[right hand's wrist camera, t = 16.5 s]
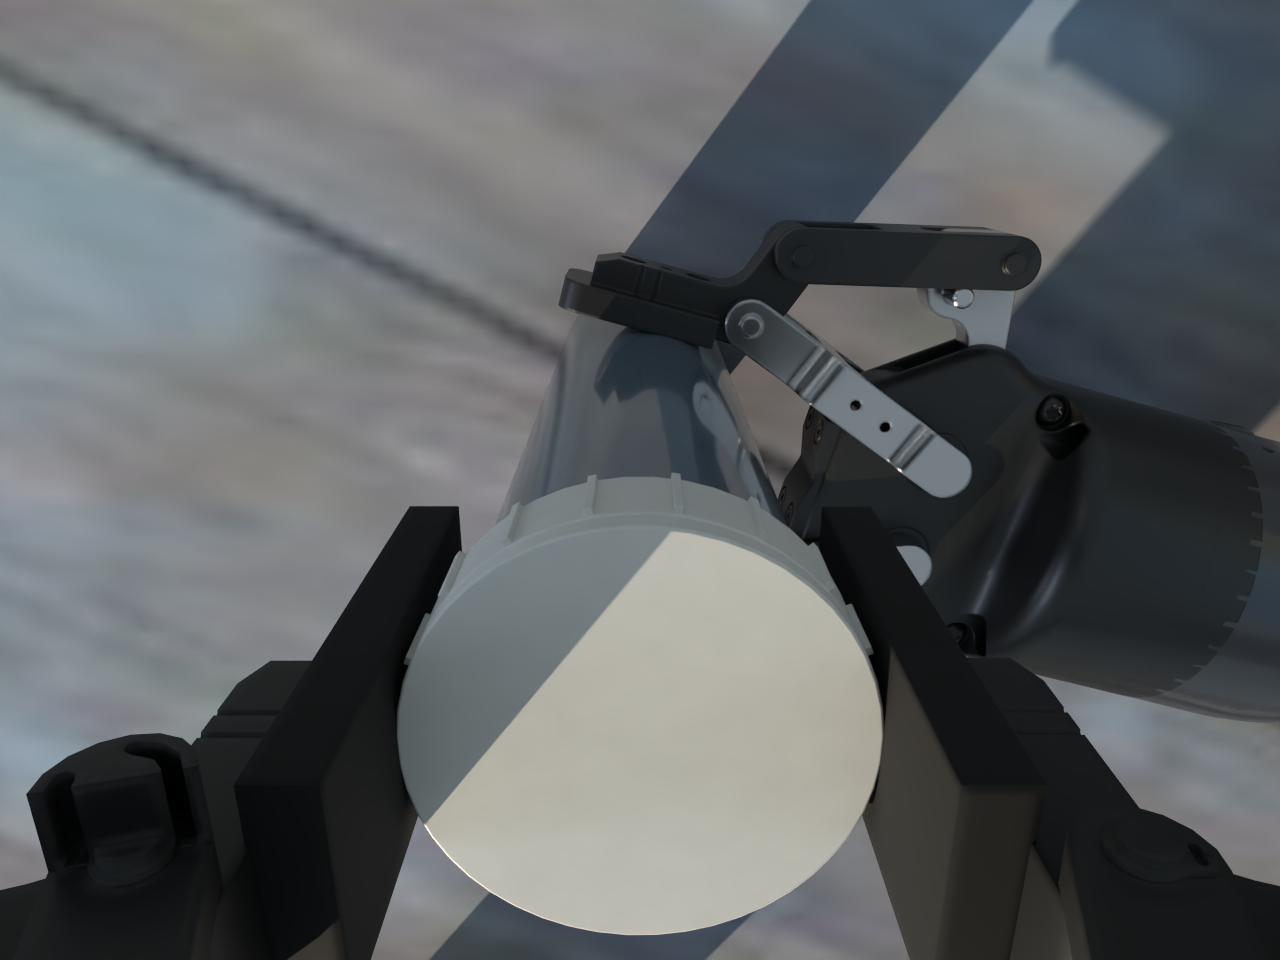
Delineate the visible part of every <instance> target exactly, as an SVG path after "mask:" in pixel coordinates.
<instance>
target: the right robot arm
mask: <svg viewBox="0 0 1280 960" xmlns="http://www.w3.org/2000/svg"><path fill="white" fill-rule="evenodd" d="M459 551H461V552H462V546H461V532H460V519H459V506H410V507H409V509H408V510H407V512H406V513H405V515H404V517H403V518H402V520H401V521H400V523H399V524H398V526H397V528H396V529H395V531H394V532H393V534H392V536H391V537H390V539H389V540H388V542H387V543H386V545H385V547H384V548H383V550H382V551H381V553H380V554H379V556H378V558H377V559H376V561H375V562H374V564H373V566H372V567H371V569H370V570H369V572H368V573H367V575H366V577H365V578H364V580H363V581H362V583H361V584H360V586H359V588H358V589H357V591H356V592H355V594H354V596H353V597H352V599H351V600H350V602H349V603H348V605H347V607H346V608H345V610H344V611H343V613H342V614H341V616H340V618H339V619H338V621H337V622H336V624H335V626H334V627H333V629H332V630H331V632H330V633H329V635H328V637H327V638H326V640H325V641H324V643H323V644H322V646H321V648H320V649H319V651H318V652H317V654H316V655H315V657H314V659H313V660H312V661H270V662H268V663H267V664H265V665H264V666H262V667H261V668H260V669H258V670H257V671H255V672H254V673H252V674H251V675H249V676H248V677H246V678H245V679H243V680H242V681H241V682H239V683H238V684H237V685H236V686H235V688H234V689H233V690H232V692H231V693H230V694H229V696H228V697H227V698H226V700H225V701H224V702H223V704H222V705H221V706H220V708H219V709H218V714H217V716H213V717H212V718H211V720H210V721H209V722H208V724H207V725H206V726H205V728H204V729H203V730H202V732H201V738H197V739H196V740H195V741H194V743H193V744H192V745H190V744H189V743H187V742H186V741H185V740H184V739H183V738H179V737H174V736H170V735H165V734H161V733H156V734H137V735H128V736H124V737H120V738H116V739H112V740H108V741H104V742H100V743H97V744H95V745H93V746H91V747H88V748H86V749H84V750H82V751H79V752H77V753H75V754H73V755H70V756H68V757H67V758H65V759H64V760H62V761H61V762H60V763H58V764H57V765H55V766H54V767H52V768H51V769H50V770H48V771H47V772H45V773H44V774H42V776H41V777H40V778H39V779H38V781H37V782H36V783H35V784H34V786H33V787H32V788H31V789H30V790H29V792H28V793H27V794H26V795H27V799H28V802H29V806H30V809H31V813H32V816H33V819H34V823H35V826H36V830H37V833H38V837H39V840H40V844H41V847H42V851H43V854H44V858H45V861H46V865H47V868H48V874H47V877H46V879H43V880H39V881H36V882H33V883H29V884H26V885H21V886H17V887H12V888H8V889H4V890H0V960H371V957H372V954H373V951H374V948H375V945H376V942H377V939H378V936H379V933H380V930H381V927H382V924H383V921H384V918H385V915H386V911H387V908H388V905H389V902H390V899H391V896H392V893H393V890H394V887H395V884H396V881H397V878H398V875H399V872H400V869H401V866H402V863H403V860H404V857H405V854H406V851H407V848H408V845H409V842H410V839H411V836H412V833H413V830H414V827H415V824H416V821H417V817H418V814H417V812H416V809H415V807H414V805H413V803H412V800H411V798H410V796H409V793H408V791H407V789H406V785H405V781H404V778H403V774H402V771H401V767H400V759H399V750H398V741H397V707H398V702H399V697H400V692H401V687H402V682H403V679H404V677H405V674H406V671H407V668H408V666H409V665H405V664H404V660H405V657H406V655H407V653H408V650H409V648H410V646H411V644H412V642H413V639H414V637H415V635H416V633H417V631H418V629H419V626H420V624H421V622H422V620H423V618H424V615H425V614H426V613H427V614H431V612H432V610H433V608H434V606H435V603H436V601H437V599H438V594H439V591H440V589H441V587H442V585H443V583H444V580H445V578H446V576H447V574H448V571H449V569H450V567H451V565H452V562H453V560H454V558H455V556H456V555H457V553H458V552H459ZM819 551H820V553H821V555H822V557H823V560H824V562H825V564H826V567H827V569H828V571H829V573H830V576H831V577H832V579H833V581H834V583H835V584H836V586H837V588H838V590H839V592H840V593H841V596H842V598H843V600H844V602H845V605H849V604H852V605H853V608H854V610H855V612H856V614H857V616H858V619H859V621H860V623H861V625H862V627H863V629H864V632H865V634H866V636H867V638H868V640H869V643H870V645H871V647H872V650H873V653H874V654H872V655H869V656H868V657H869V660H870V662H871V665H872V667H873V670H874V673H875V675H876V678H877V681H878V686H879V690H880V695H881V700H882V705H883V717H884V737H883V746H882V755H881V764H880V768H879V772H878V776H877V780H876V783H875V787H874V790H873V792H872V794H871V797H870V799H869V801H868V804H867V806H866V808H865V811H864V813H863V814H862V816H863V819H864V822H865V825H866V828H867V831H868V834H869V837H870V840H871V843H872V846H873V849H874V852H875V855H876V858H877V861H878V864H879V867H880V870H881V873H882V876H883V879H884V882H885V885H886V889H887V892H888V895H889V898H890V901H891V904H892V907H893V910H894V913H895V916H896V919H897V922H898V925H899V928H900V931H901V934H902V937H903V940H904V943H905V946H906V949H907V952H908V955H909V958H910V960H1280V886H1276V885H1272V884H1268V883H1263V882H1259V881H1255V880H1251V879H1248V878H1244V877H1241V876H1238V875H1234V874H1233V873H1232V871H1231V869H1230V868H1229V866H1228V865H1227V863H1226V862H1225V860H1224V859H1223V858H1222V856H1221V855H1220V853H1219V852H1218V850H1217V849H1216V848H1214V847H1213V846H1212V845H1211V844H1209V843H1208V842H1207V841H1206V840H1204V839H1203V838H1202V837H1201V836H1200V835H1198V834H1197V833H1196V832H1195V831H1193V830H1192V829H1190V828H1188V827H1186V826H1184V825H1182V824H1180V823H1178V822H1176V821H1174V820H1172V819H1170V818H1168V817H1166V816H1164V815H1161V814H1157V813H1154V812H1150V811H1147V810H1143V809H1140V808H1139V807H1138V806H1137V804H1136V803H1135V802H1134V800H1133V799H1132V798H1131V796H1130V795H1129V794H1128V792H1127V791H1126V790H1125V788H1124V787H1123V786H1122V784H1121V783H1120V782H1119V780H1118V779H1117V778H1116V776H1115V775H1114V774H1113V772H1112V771H1111V770H1110V768H1109V767H1108V766H1107V764H1106V763H1105V762H1104V760H1103V759H1102V758H1101V756H1100V755H1099V754H1098V752H1097V751H1096V750H1095V748H1094V747H1093V746H1092V744H1091V743H1090V742H1089V740H1088V739H1087V738H1086V736H1085V735H1081V734H1080V728H1079V727H1078V726H1077V724H1076V723H1075V722H1074V720H1073V719H1072V718H1071V716H1070V715H1069V714H1068V713H1064V707H1063V706H1062V704H1061V703H1060V702H1059V700H1058V699H1057V698H1056V696H1055V695H1054V694H1053V692H1052V691H1051V690H1050V688H1049V687H1048V686H1047V684H1046V683H1045V682H1044V681H1043V680H1042V679H1040V678H1039V677H1038V676H1036V675H1035V674H1033V673H1032V672H1030V671H1029V670H1027V669H1026V668H1024V667H1023V666H1021V665H1020V664H1018V663H1017V662H1015V661H1014V660H1012V659H1011V658H966V656H965V655H964V653H963V651H962V650H961V648H960V647H959V645H958V643H957V642H956V640H955V639H954V637H953V636H952V634H951V632H950V631H949V629H948V628H947V626H946V625H945V623H944V621H943V620H942V618H941V617H940V615H939V613H938V612H937V610H936V609H935V607H934V606H933V604H932V602H931V601H930V599H929V598H928V596H927V595H926V593H925V591H924V590H923V588H922V587H921V585H920V584H919V582H918V580H917V579H916V577H915V576H914V574H913V572H912V571H911V569H910V568H909V566H908V565H907V563H906V561H905V560H904V558H903V557H902V555H901V554H900V552H899V550H898V549H897V547H896V546H895V544H894V542H893V541H892V539H891V538H890V536H889V535H888V533H887V531H886V530H885V528H884V527H883V525H882V524H881V522H880V520H879V519H878V517H877V516H876V514H875V512H874V511H873V509H872V508H871V506H822V514H821V527H820V540H819Z"/></svg>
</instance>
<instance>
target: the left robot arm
mask: <svg viewBox="0 0 1280 960" xmlns="http://www.w3.org/2000/svg"><path fill="white" fill-rule="evenodd" d="M1040 266H1041V253H1040V250H1039V248H1038V247H1037V245H1036V244H1035V243H1034V242H1033V241H1032V240H1030V239H1028V238H1025V237H1022V236H1017V235H1013V234H1009V233H1005V232H1001V231H997V230H993V229H989V228H984V227H963V226H935V225H907V224H879V223H850V222H822V221H794V220H785V221H781V222H778V223H776V224H774V225H773V226H772V227H771V228H770V229H769V230H768V231H767V233H766V234H765V236H764V239H763V244H762V245H761V246H760V248H759V249H758V250H757V252H756V253H755V255H754V256H753V257H752V259H751V260H750V261H749V263H748V264H747V265H746V267H745V268H744V269H743V270H742V271H740V272H739V273H738V274H736V275H734V276H732V277H728V278H723V279H716V278H711V277H708V276H704V275H700V274H697V273H693V272H690V271H686V270H682V269H679V268H675V267H672V266H668V265H664V264H660V263H657V262H653V261H650V260H646V259H642V258H639V257H635V256H632V255H628V254H625V253H621V252H619V253H610V254H602V255H598V257H597V260H596V263H595V267H594V271H593V272H589V271H585V270H580V269H573V268H572V269H569V270H568V272H567V274H566V276H565V280H564V284H563V288H562V293H561V297H560V301H559V306H560V307H562V308H564V309H566V310H569V311H571V312H574V313H578V314H582V315H585V316H589V317H593V318H596V319H600V320H604V321H608V322H611V323H615V324H619V325H622V326H626V327H630V328H634V329H637V330H641V331H645V332H648V333H652V334H656V335H660V336H665V337H670V338H673V339H676V340H679V341H682V342H686V343H689V344H693V345H697V346H700V347H704V348H708V349H712V347H713V343H714V340H715V339H716V340H719V341H723V342H727V343H730V344H732V345H733V346H735V347H736V348H737V349H739V350H740V351H741V352H743V353H744V354H745V355H747V356H748V357H749V358H751V359H752V360H754V361H755V362H756V363H758V364H759V365H760V366H762V367H763V368H765V369H766V370H767V371H769V372H770V373H771V374H773V375H774V376H775V377H777V378H778V379H780V380H781V381H782V382H784V383H785V384H786V385H788V386H789V387H790V388H791V389H793V390H794V391H795V392H796V393H797V394H798V395H799V396H800V397H801V398H802V399H804V400H805V401H806V402H807V403H809V404H810V407H809V410H808V413H807V416H806V419H805V422H804V425H803V434H802V449H801V456H800V458H799V459H798V461H797V462H796V464H795V465H794V466H793V468H792V469H791V471H790V472H789V474H788V475H787V477H786V478H785V480H784V482H783V485H782V488H781V491H780V494H779V497H778V502H779V505H780V508H781V510H782V513H783V515H784V518H785V521H786V523H787V526H788V528H790V529H791V530H792V531H793V532H794V533H795V534H796V535H797V536H798V537H799V538H800V539H801V540H802V541H803V542H804V543H805V544H807V545H808V546H809V545H810V544H812V543H815V545H816V546H817V547H818V548H819V540H820V527H821V514H822V506H871V508H872V509H873V511H874V512H875V514H876V516H877V517H878V519H879V520H880V522H881V524H882V525H883V527H884V528H885V530H886V531H887V533H888V535H889V536H890V538H891V539H892V541H893V542H894V544H895V546H896V547H897V549H898V550H899V552H900V554H901V555H902V557H903V558H904V560H905V561H906V563H907V565H908V566H909V568H910V569H911V571H912V572H913V574H914V576H915V577H916V579H917V580H918V582H919V584H920V585H921V587H922V588H923V590H924V591H925V593H926V595H927V596H928V598H929V599H930V601H931V602H932V604H933V606H934V607H935V609H936V610H937V612H938V613H939V615H940V617H941V618H942V620H943V621H944V623H945V625H946V626H947V628H948V629H949V631H950V632H951V634H952V636H953V637H954V639H955V640H956V642H957V643H958V645H959V647H960V648H961V650H962V651H963V653H964V655H965V656H968V657H971V658H1011V659H1012V660H1014V661H1015V662H1017V663H1018V664H1020V665H1021V666H1023V667H1024V668H1026V669H1027V670H1029V671H1030V672H1032V673H1033V674H1037V675H1041V676H1045V677H1049V678H1053V679H1057V680H1061V681H1066V682H1070V683H1074V684H1078V685H1082V686H1086V687H1090V688H1095V689H1099V690H1103V691H1107V692H1111V693H1115V694H1119V695H1124V696H1128V697H1133V698H1137V699H1141V700H1145V701H1149V702H1153V703H1157V704H1161V705H1165V706H1169V707H1173V708H1177V709H1181V710H1185V711H1189V712H1193V713H1197V714H1202V715H1207V716H1212V717H1217V718H1224V719H1231V720H1239V721H1248V722H1260V723H1273V724H1280V442H1277V441H1274V440H1270V439H1266V438H1263V437H1259V436H1256V435H1255V434H1254V433H1252V432H1250V431H1247V430H1245V428H1243V427H1240V426H1236V425H1232V424H1227V423H1222V422H1215V421H1210V422H1205V421H1201V420H1198V419H1194V418H1190V417H1187V416H1183V415H1179V414H1176V413H1172V412H1168V411H1165V410H1161V409H1158V408H1154V407H1150V406H1147V405H1143V404H1139V403H1136V402H1132V401H1128V400H1125V399H1121V398H1118V397H1114V396H1110V395H1107V394H1103V393H1099V392H1096V391H1092V390H1088V389H1085V388H1081V387H1077V386H1074V385H1070V384H1067V383H1063V382H1059V381H1056V380H1052V379H1048V378H1045V377H1041V376H1038V375H1035V374H1033V373H1031V372H1030V371H1029V370H1028V369H1027V368H1026V367H1025V366H1024V365H1023V364H1022V363H1021V361H1020V360H1019V359H1018V358H1017V357H1016V356H1015V355H1014V354H1012V353H1011V352H1009V351H1008V350H1006V344H1007V338H1008V332H1009V327H1010V321H1011V315H1012V310H1013V304H1014V298H1015V292H1016V290H1019V289H1022V288H1024V287H1026V286H1027V285H1029V284H1030V283H1031V282H1032V281H1033V280H1034V279H1035V277H1036V276H1037V274H1038V272H1039V270H1040ZM808 284H822V285H851V286H880V287H909V288H917V295H918V299H919V301H920V303H921V304H922V305H923V306H924V307H925V308H926V309H928V310H930V311H931V312H933V313H935V314H937V315H938V316H940V317H943V318H947V319H951V320H952V321H953V323H954V325H955V328H956V333H957V335H956V339H953V340H950V341H947V342H944V343H942V344H939V345H936V346H933V347H930V348H928V349H925V350H922V351H919V352H917V353H914V354H911V355H908V356H906V357H903V358H900V359H897V360H894V361H892V362H889V363H886V364H883V365H881V366H878V367H875V368H872V369H869V370H867V371H865V370H864V369H862V368H861V367H860V366H858V365H857V364H856V363H854V362H853V361H852V360H850V359H849V358H848V357H846V356H845V355H844V354H842V353H841V352H840V351H838V350H837V349H836V348H834V347H833V346H832V345H830V344H829V343H828V342H826V341H825V340H824V339H822V338H821V337H820V336H818V335H817V334H816V333H814V332H813V331H812V330H810V329H808V328H807V327H805V326H804V325H802V324H801V323H800V322H798V321H797V320H796V319H794V318H793V317H792V316H790V315H789V314H788V313H787V312H788V311H789V309H790V308H791V307H792V305H793V304H794V303H795V301H796V300H797V299H798V297H799V296H800V295H801V293H802V292H803V291H804V289H805V288H806V287H807V285H808Z"/></svg>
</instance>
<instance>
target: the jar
mask: <svg viewBox="0 0 1280 960" xmlns="http://www.w3.org/2000/svg"><path fill="white" fill-rule="evenodd" d="M672 473H679V474H680V475H681V480H685V481H689V482H693V483H697V484H701V485H705V486H709V487H713V488H716V489H719V490H721V491H724V492H727V493H729V494H732V495H734V496H737V497H740V498H742V499H744V500H746V501H748V499H749V498H750V496H752V497H754V498H756V499H757V500H758V502H759V505H760V508H761V509H762V510H764V511H766V512H768V513H769V514H771V515H772V516H773V517H775V518H776V519H777V520H779V521H780V522H781V523H783V524H784V525H786V526H787V523H786V521H785V518H784V515H783V513H782V510H781V508H780V505H779V502H778V500H777V497H776V495H775V492H774V489H773V487H772V484H771V482H770V479H769V476H768V474H767V471H766V469H765V466H764V463H763V461H762V458H761V456H760V453H759V450H758V448H757V445H756V443H755V440H754V437H753V435H752V432H751V429H750V427H749V424H748V422H747V419H746V416H745V414H744V411H743V409H742V406H741V403H740V401H739V398H738V396H737V393H736V390H735V388H734V385H733V383H732V380H731V377H730V375H729V372H728V370H727V367H726V364H725V362H724V359H723V357H722V354H721V351H720V349H719V346H718V344H717V341H716V339H715V340H714V343H713V347H712V349H708V348H704V347H700V346H697V345H693V344H689V343H686V342H682V341H679V340H676V339H673V338H670V337H665V336H660V335H656V334H652V333H648V332H645V331H641V330H637V329H634V328H630V327H626V326H622V325H619V324H615V323H611V322H608V321H604V320H600V319H596V318H593V317H589V316H585V315H582V314H580V315H579V316H578V318H577V319H576V321H575V322H574V324H573V325H572V327H571V330H570V332H569V334H568V336H567V339H566V341H565V344H564V347H563V349H562V352H561V354H560V357H559V360H558V362H557V365H556V368H555V370H554V373H553V375H552V378H551V381H550V383H549V386H548V388H547V391H546V394H545V396H544V399H543V401H542V404H541V407H540V409H539V412H538V415H537V417H536V420H535V422H534V425H533V428H532V430H531V433H530V435H529V438H528V441H527V443H526V446H525V448H524V451H523V454H522V456H521V459H520V462H519V464H518V467H517V469H516V472H515V475H514V477H513V480H512V482H511V485H510V488H509V490H508V493H507V495H506V498H505V501H504V503H503V506H502V509H501V511H500V514H499V516H498V519H497V522H496V524H498V523H499V522H500V521H502V520H503V519H504V518H506V517H507V516H508V515H509V514H510V511H511V508H512V506H513V505H514V504H516V503H518V502H520V503H521V505H522V506H523V507H524V506H525V505H527V504H529V503H531V502H533V501H534V500H536V499H539V498H541V497H544V496H546V495H549V494H551V493H554V492H556V491H559V490H561V489H564V488H567V487H571V486H575V485H579V484H583V483H587V480H588V476H590V475H595V474H596V475H597V478H598V480H604V479H611V478H619V477H661V478H669V479H671V474H672ZM496 524H495V525H496ZM787 527H788V526H787Z"/></svg>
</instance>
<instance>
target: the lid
mask: <svg viewBox="0 0 1280 960" xmlns="http://www.w3.org/2000/svg"><path fill="white" fill-rule="evenodd" d="M872 654H874V653H873V650H872V647H871V645H870V643H869V640H868V638H867V636H866V634H865V632H864V629H863V627H862V625H861V623H860V621H859V619H858V616H857V614H856V612H855V610H854V608H853V605H852V604H849V605H845V602H844V600H843V598H842V596H841V593H840V592H839V590H838V588H837V586H836V584H835V583H834V581H833V579H832V577H831V576H830V573H829V571H828V569H827V567H826V564H825V562H824V560H823V557H822V555H821V553H820V551H819V548H818V547H817V546H816V545H815V543H812V544H810V545H809V546H808V545H807V544H805V543H804V542H803V541H802V540H801V539H800V538H799V537H798V536H797V535H796V534H795V533H794V532H793V531H792V530H791V529H790V528H788V527H787V526H786V525H784V524H783V523H781V522H780V521H779V520H777V519H776V518H775V517H773V516H772V515H771V514H769V513H768V512H766V511H764V510H762V509H761V508H760V505H759V502H758V500H757V499H756V498H754V497H752V496H750V498H749V499H748V501H746V500H744V499H742V498H740V497H737V496H734V495H732V494H729V493H727V492H724V491H721V490H719V489H716V488H713V487H709V486H705V485H701V484H697V483H693V482H689V481H685V480H681V475H680V474H679V473H672V474H671V479H669V478H661V477H619V478H611V479H604V480H598V478H597V475H596V474H595V475H590V476H588V480H587V483H583V484H579V485H575V486H571V487H567V488H564V489H561V490H559V491H556V492H554V493H551V494H549V495H546V496H544V497H541V498H539V499H536V500H534V501H533V502H531V503H529V504H527V505H525V506H524V507H523V506H522V505H521V503H520V502H518V503H516V504H514V505H513V506H512V508H511V511H510V514H509V515H508V516H507V517H506V518H504V519H503V520H502V521H500V522H499V523H498V524H496V525H495V526H494V527H492V528H491V529H490V530H488V531H487V532H486V533H485V534H484V535H483V536H482V537H481V538H480V539H479V540H478V541H477V542H476V543H475V544H474V545H473V546H472V547H471V548H470V549H469V550H468V551H467V553H466V554H464V553H463V552H461V551H459V552H458V553H457V555H456V556H455V558H454V560H453V562H452V565H451V567H450V569H449V571H448V574H447V576H446V578H445V580H444V583H443V585H442V587H441V589H440V591H439V594H438V599H437V601H436V603H435V606H434V608H433V610H432V612H431V614H427V613H426V614H425V615H424V618H423V620H422V622H421V624H420V626H419V629H418V631H417V633H416V635H415V637H414V639H413V642H412V644H411V646H410V648H409V650H408V653H407V655H406V657H405V660H404V664H405V665H409V666H408V668H407V671H406V674H405V677H404V679H403V682H402V687H401V692H400V697H399V702H398V707H397V741H398V750H399V759H400V767H401V771H402V774H403V778H404V781H405V785H406V789H407V791H408V793H409V796H410V798H411V800H412V803H413V805H414V807H415V809H416V812H417V814H418V815H419V817H420V819H421V820H422V822H423V823H424V825H425V827H426V828H427V830H428V832H429V833H430V835H431V836H432V838H433V839H434V840H435V841H436V842H437V844H438V845H439V846H440V847H441V848H442V850H443V851H444V852H445V853H446V855H447V856H448V857H449V858H450V859H451V860H452V861H453V862H454V863H455V864H456V865H458V866H459V867H460V868H461V869H462V870H463V871H464V872H465V873H466V874H467V875H468V876H469V877H471V878H472V879H473V880H475V881H476V882H478V883H479V884H480V885H482V886H483V887H484V888H486V889H487V890H488V891H490V892H491V893H493V894H495V895H496V896H498V897H500V898H502V899H503V900H505V901H507V902H509V903H510V904H512V905H514V906H516V907H518V908H520V909H523V910H525V911H527V912H530V913H532V914H534V915H537V916H539V917H541V918H544V919H547V920H551V921H554V922H557V923H560V924H564V925H567V926H570V927H575V928H580V929H585V930H590V931H595V932H603V933H613V934H623V935H658V934H668V933H677V932H686V931H691V930H695V929H700V928H705V927H710V926H714V925H717V924H720V923H723V922H727V921H730V920H733V919H736V918H739V917H742V916H744V915H746V914H749V913H751V912H753V911H755V910H758V909H760V908H762V907H765V906H767V905H768V904H770V903H772V902H774V901H775V900H777V899H779V898H780V897H782V896H784V895H786V894H787V893H789V892H791V891H792V890H793V889H795V888H796V887H798V886H799V885H800V884H802V883H803V882H804V881H806V880H807V879H808V878H810V877H811V876H812V875H813V874H815V873H816V872H817V871H818V870H819V869H820V868H821V867H822V866H823V865H824V864H825V863H826V862H827V861H828V860H829V859H830V858H831V857H832V856H833V855H834V854H835V853H836V852H837V850H838V849H839V848H840V847H841V845H842V844H843V843H844V842H845V840H846V839H847V838H848V837H849V836H850V834H851V832H852V831H853V829H854V827H855V826H856V824H857V823H858V821H859V819H860V818H861V816H862V814H863V813H864V811H865V808H866V806H867V804H868V801H869V799H870V797H871V794H872V792H873V790H874V787H875V783H876V780H877V776H878V772H879V768H880V764H881V755H882V746H883V737H884V717H883V705H882V700H881V695H880V690H879V686H878V681H877V678H876V675H875V673H874V670H873V667H872V665H871V662H870V660H869V657H868V656H869V655H872Z"/></svg>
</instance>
